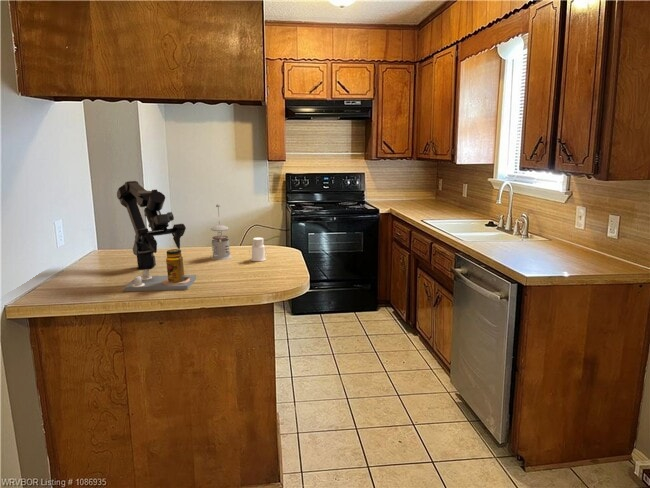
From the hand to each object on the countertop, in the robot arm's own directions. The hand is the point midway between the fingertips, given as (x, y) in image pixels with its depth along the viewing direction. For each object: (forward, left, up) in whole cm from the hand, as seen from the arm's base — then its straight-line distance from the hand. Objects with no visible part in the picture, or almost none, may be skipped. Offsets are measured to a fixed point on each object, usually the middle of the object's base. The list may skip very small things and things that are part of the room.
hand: (167, 250), depth 184 cm
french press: (+14, +37, -13) cm, 41 cm away
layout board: (-2, -4, -12) cm, 13 cm away
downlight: (+32, +30, -13) cm, 45 cm away
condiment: (+4, -4, -11) cm, 12 cm away
